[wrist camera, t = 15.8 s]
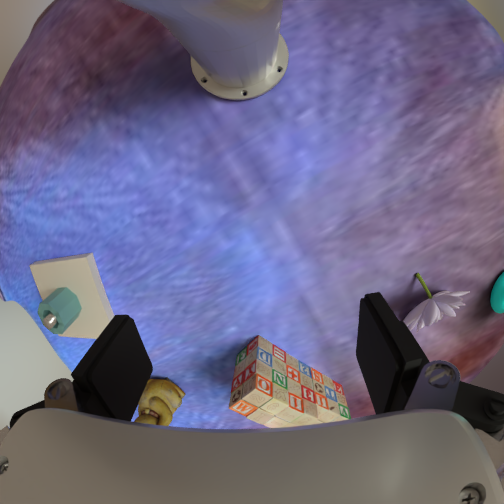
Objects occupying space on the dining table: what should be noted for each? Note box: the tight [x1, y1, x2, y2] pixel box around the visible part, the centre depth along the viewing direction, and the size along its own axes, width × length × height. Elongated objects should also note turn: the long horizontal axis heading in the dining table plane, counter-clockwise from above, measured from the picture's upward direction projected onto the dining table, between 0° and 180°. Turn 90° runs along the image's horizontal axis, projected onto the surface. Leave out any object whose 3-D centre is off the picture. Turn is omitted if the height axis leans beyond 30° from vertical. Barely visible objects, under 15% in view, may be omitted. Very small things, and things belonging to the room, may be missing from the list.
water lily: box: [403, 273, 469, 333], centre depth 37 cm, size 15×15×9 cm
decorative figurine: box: [134, 377, 185, 426], centre depth 44 cm, size 10×8×15 cm
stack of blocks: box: [229, 335, 351, 428], centre depth 42 cm, size 21×6×12 cm, turn 52°
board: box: [29, 253, 114, 339], centre depth 40 cm, size 16×16×10 cm
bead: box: [38, 287, 82, 334], centre depth 40 cm, size 6×6×6 cm
